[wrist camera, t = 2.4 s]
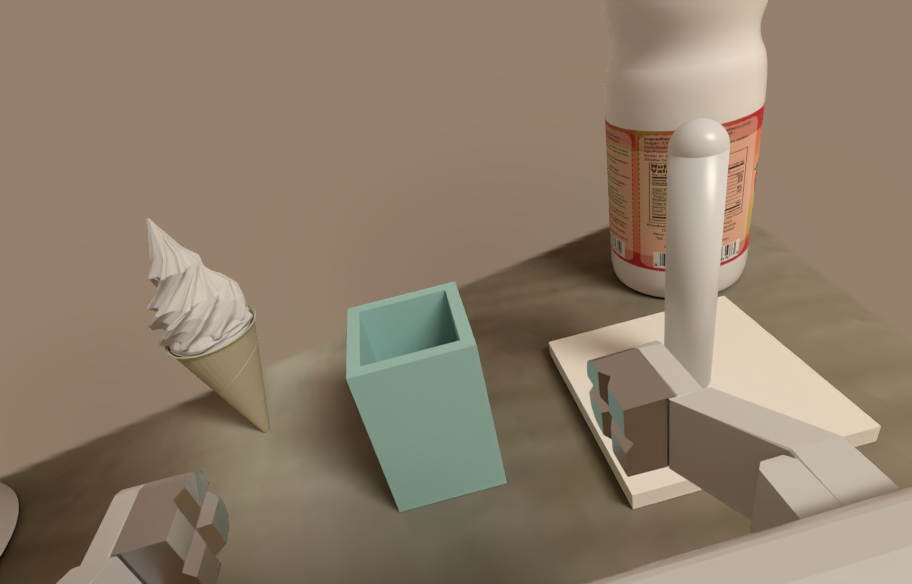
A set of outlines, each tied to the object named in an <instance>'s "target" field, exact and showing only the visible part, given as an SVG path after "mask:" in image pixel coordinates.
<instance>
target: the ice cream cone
mask: <svg viewBox="0 0 912 584" xmlns="http://www.w3.org/2000/svg"><path fill="white" fill-rule="evenodd" d="M146 221H147V226H148V234H149V251H150V272H149V276H148V279H149V280H150V281H151V282H152V283H153V284H154V285H155V286H156V287H157V289H156V292H155V295H154V297H153V299H152V301H151V302H150V303H149V305H148V306H147V309H148V310H154V311H158V312H157V313H156V315H155V316H154V318H153V319H152V320H151V321H150V322H149V324H148V326H149V327H150V328H151V329H152V330H155V329H162V328H163V329H164V330H166V332H165V333H164V335H163V337H162V339H161V340H160V341H159V344H160V346H165V351H166V353H167V354H168V355H169V356H170V357H173V358H176V359H177V360H178V361H179V362H181V363H182V364H183V365H184V366H185V367H187V368H188V369H189V370H190V371H191V372H193V373H194V374H195V375H196V376H197V377H198V378H200V379H201V380H202V381H203V382H205V383H206V384H207V385H208V386H209V387H210V388H212V389H213V390H214V391H215V392H216V393H217V394H219V395H220V396H221V397H222V398H223V399H224V400H225V401H227V402H228V403H229V404H230V405H231V406H232V407H234V408H235V409H236V410H237V411H238V412H240V413H241V414H242V415H243V416H244V417H246V418H247V419H248V420H249V421H250V422H252V423H253V424H254V425H255V426H256V427H257V428H259V429H260V430H261V431H262V432H266V431H268V430H269V420H268V413H267V406H266V398H265V391H264V383H263V376H262V369H261V362H260V354H259V346H258V339H257V334H256V327H255V319H256V312H255V310H254V309H253V307H251V306H249V305H246V301H245V299H244V296H243V294H242V292H241V289H240V288H239V285H238V283H237V282H235V281H233V280H232V279H230V278H228V277H226V276H224V275H223V274H221V273H219V272H214V271H212V270H210V269H208V268H206V267H205V266H203V264H202V261H201V259H200V256H199V255H198V254H196V253H194V252H192V251H190V250H188V249H186V248H183V247H182V246H180V245H179V244H178V243H177V242H176V241H175V240H173V239H172V238H171V237H170V236H169V235H168V234H166V233H165V232H164V231H163V230H162V229H161V228H159V227H158V226H157V225H156V224H155V223H153V222H152V221H151V220H150V219H149V218H147V219H146Z"/></svg>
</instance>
